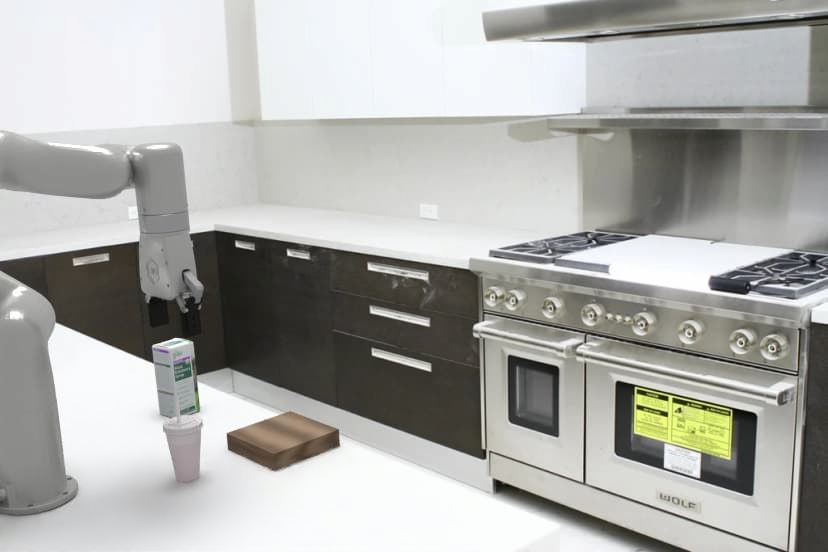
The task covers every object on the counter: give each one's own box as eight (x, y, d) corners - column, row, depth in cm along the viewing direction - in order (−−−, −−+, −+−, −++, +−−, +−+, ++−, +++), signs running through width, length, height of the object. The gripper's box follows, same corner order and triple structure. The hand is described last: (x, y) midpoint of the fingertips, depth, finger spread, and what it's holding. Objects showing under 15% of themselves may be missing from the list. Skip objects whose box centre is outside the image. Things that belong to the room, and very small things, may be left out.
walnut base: (275, 470, 148) (274, 453, 147) (227, 449, 157) (226, 433, 157) (339, 445, 157) (338, 429, 157) (291, 426, 167) (290, 411, 166)
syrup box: (177, 420, 172) (170, 348, 169) (158, 414, 176) (151, 343, 173) (200, 411, 177) (194, 340, 174) (181, 405, 180) (175, 336, 177)
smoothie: (163, 474, 148) (155, 394, 145) (202, 466, 151) (195, 387, 148) (172, 489, 142) (164, 406, 139) (212, 480, 145) (205, 398, 142)
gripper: (115, 222, 141) (127, 327, 145) (171, 232, 129) (183, 345, 133) (158, 216, 146) (168, 317, 150) (216, 224, 134) (226, 334, 138)
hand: (175, 330), depth 141 cm, fingers open, 9 cm apart
